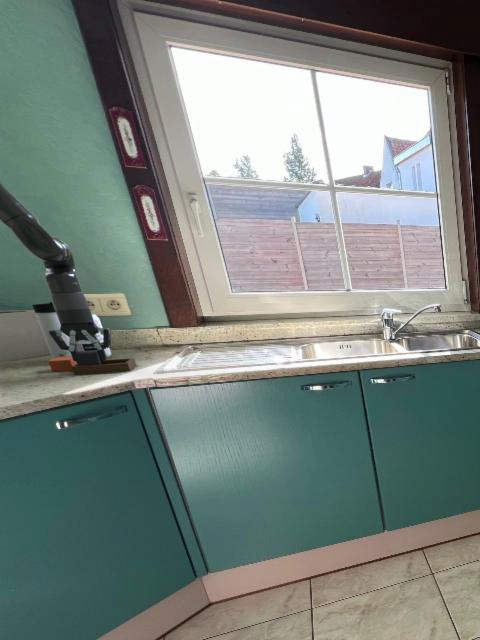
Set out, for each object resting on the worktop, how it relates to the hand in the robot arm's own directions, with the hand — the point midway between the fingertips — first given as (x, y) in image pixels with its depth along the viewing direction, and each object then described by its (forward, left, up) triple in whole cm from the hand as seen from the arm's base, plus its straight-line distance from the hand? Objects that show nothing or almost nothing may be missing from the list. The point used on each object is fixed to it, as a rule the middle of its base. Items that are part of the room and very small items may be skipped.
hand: (91, 361), depth 157 cm
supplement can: (-5, +26, -3) cm, 27 cm away
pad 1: (-8, +6, -3) cm, 11 cm away
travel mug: (-11, +20, -3) cm, 23 cm away
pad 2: (0, 0, 0) cm, 0 cm away
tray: (+3, 0, -3) cm, 4 cm away
